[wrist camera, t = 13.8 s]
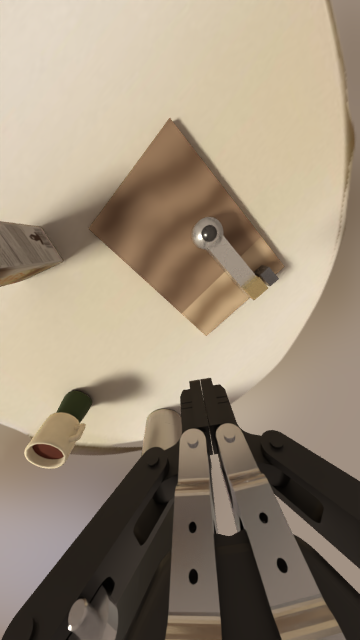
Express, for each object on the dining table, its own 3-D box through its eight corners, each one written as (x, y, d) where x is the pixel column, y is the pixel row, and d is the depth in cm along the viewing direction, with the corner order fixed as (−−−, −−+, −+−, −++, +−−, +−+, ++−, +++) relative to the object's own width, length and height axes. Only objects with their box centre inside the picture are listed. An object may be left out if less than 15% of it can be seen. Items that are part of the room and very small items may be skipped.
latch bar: (185, 234, 31) (188, 233, 27) (205, 213, 30) (211, 208, 25) (240, 296, 35) (250, 303, 31) (259, 279, 34) (272, 284, 30)
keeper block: (270, 276, 34) (278, 278, 32) (262, 283, 35) (270, 286, 32) (261, 264, 33) (269, 266, 31) (253, 272, 34) (260, 274, 31)
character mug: (66, 414, 47) (29, 474, 35) (50, 393, 44) (4, 450, 32) (107, 404, 46) (83, 461, 34) (93, 381, 43) (63, 435, 31)
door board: (280, 265, 35) (284, 266, 34) (205, 333, 39) (206, 335, 38) (169, 123, 27) (169, 117, 26) (91, 229, 31) (88, 228, 30)
